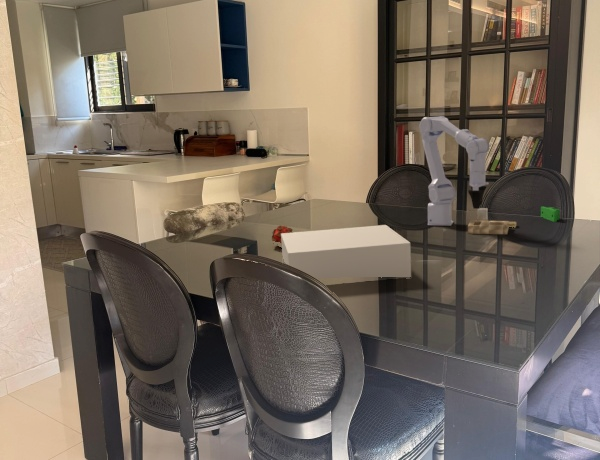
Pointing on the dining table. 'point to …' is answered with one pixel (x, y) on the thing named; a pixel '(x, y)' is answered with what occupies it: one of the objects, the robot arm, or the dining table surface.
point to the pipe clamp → (550, 213)
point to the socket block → (488, 227)
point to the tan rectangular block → (512, 224)
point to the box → (348, 252)
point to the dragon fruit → (278, 231)
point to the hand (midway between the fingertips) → (477, 206)
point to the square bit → (482, 214)
